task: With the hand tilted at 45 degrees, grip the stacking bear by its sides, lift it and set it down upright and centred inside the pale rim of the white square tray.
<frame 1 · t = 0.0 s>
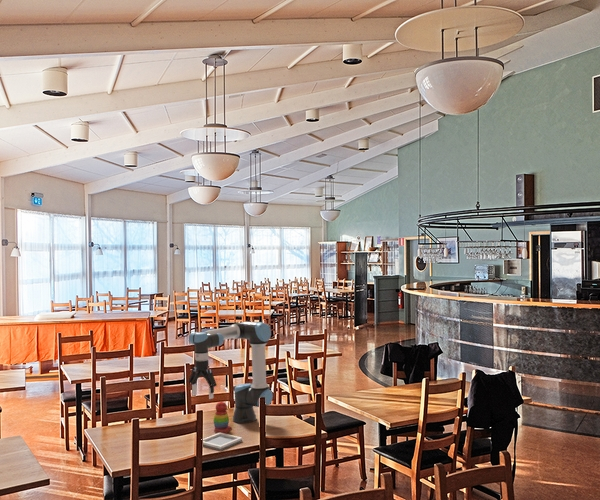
hand: (202, 397, 334), 28 cm above the table, tool pointing down, fingers open, 13 cm apart
stacking bear: (222, 431, 361), on the table
white square tray: (220, 443, 339), on the table
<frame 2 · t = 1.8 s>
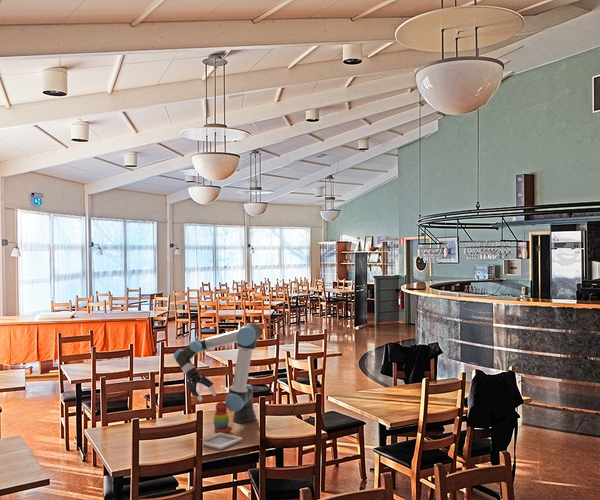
hand: (208, 397, 366), 19 cm above the table, tool tilted 45°, fingers open, 13 cm apart
nothing on the table moved.
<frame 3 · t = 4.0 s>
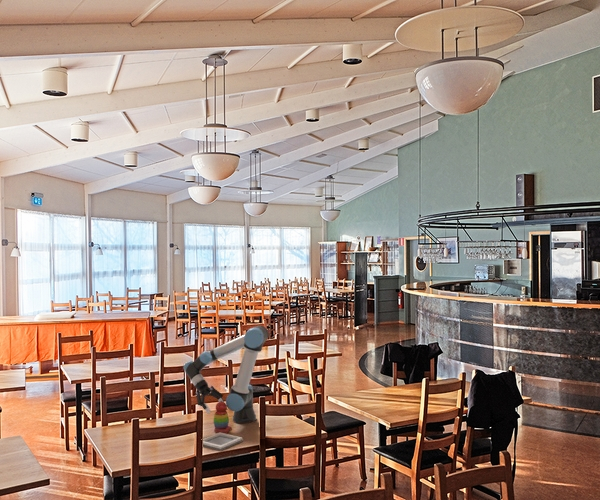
hand: (217, 410, 362), 12 cm above the table, tool tilted 45°, fingers open, 13 cm apart
nothing on the table moved.
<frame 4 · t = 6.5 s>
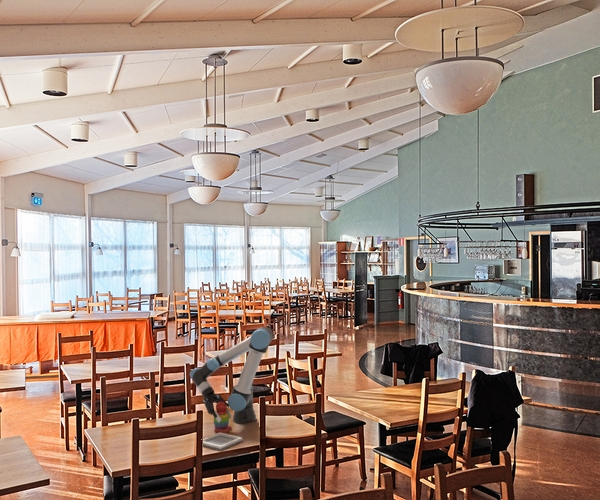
hand: (225, 419, 359), 8 cm above the table, tool tilted 45°, fingers closed on stacking bear, 9 cm apart
stacking bear: (222, 431, 361), on the table, touching gripper
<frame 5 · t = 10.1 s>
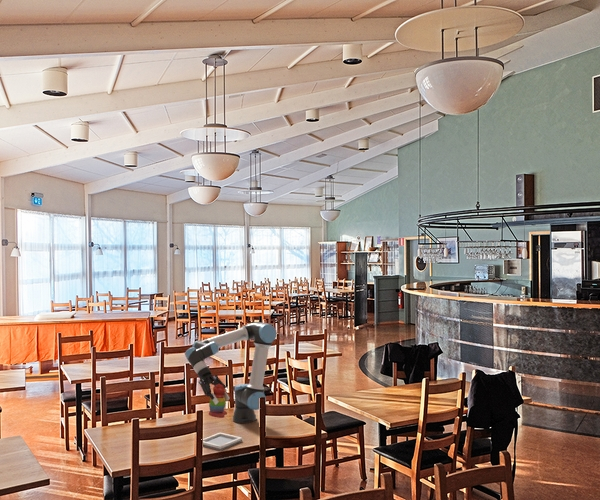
hand: (222, 401, 336), 25 cm above the table, tool tilted 45°, fingers closed on stacking bear, 8 cm apart
stacking bear: (217, 415, 339), point 16 cm above the table, touching gripper
when the fingers open (10 cm above the table, at t = 13.7 s): stacking bear stays where it is, resting on white square tray.
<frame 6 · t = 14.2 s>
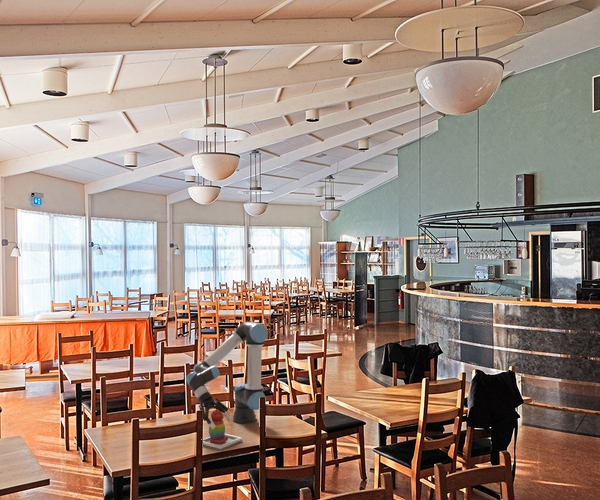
hand: (222, 424, 337), 11 cm above the table, tool tilted 45°, fingers open, 13 cm apart
stacking bear: (218, 441, 339), point 1 cm above the table, touching white square tray
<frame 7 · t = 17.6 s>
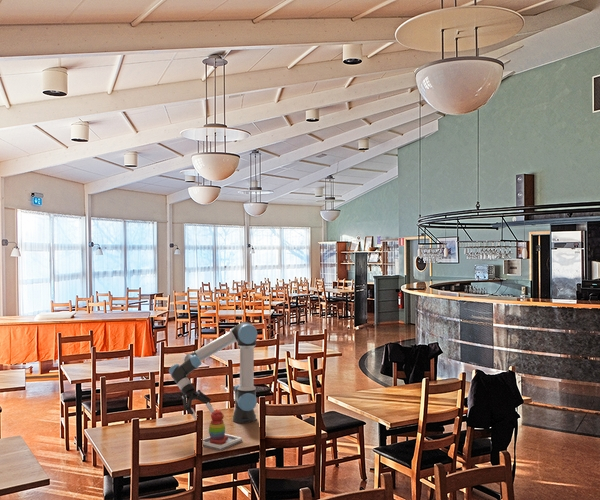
hand: (204, 415, 347), 14 cm above the table, tool tilted 45°, fingers open, 13 cm apart
nothing on the table moved.
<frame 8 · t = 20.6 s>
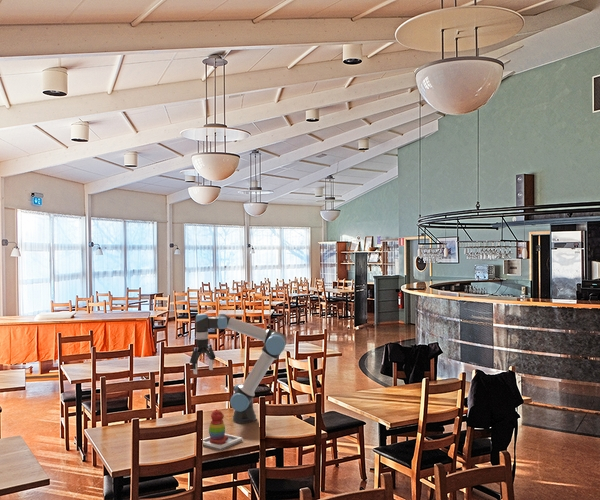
hand: (203, 372, 370), 35 cm above the table, tool pointing down, fingers open, 13 cm apart
nothing on the table moved.
at the end: stacking bear 1.3 cm off-centre on the white square tray, point 0.9 cm above the white square tray's base; stacking bear tilted 0°; the gripper is holding nothing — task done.
